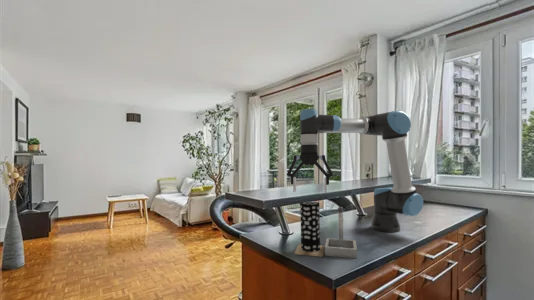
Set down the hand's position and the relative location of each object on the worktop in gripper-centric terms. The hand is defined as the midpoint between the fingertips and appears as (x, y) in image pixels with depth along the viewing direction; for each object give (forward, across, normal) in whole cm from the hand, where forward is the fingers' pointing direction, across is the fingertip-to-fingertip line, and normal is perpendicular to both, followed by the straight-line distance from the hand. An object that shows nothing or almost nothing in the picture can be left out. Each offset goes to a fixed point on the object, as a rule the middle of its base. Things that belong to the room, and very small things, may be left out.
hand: (309, 192), depth 122 cm
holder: (+26, -13, -4) cm, 29 cm away
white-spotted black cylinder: (+25, 0, 0) cm, 25 cm away
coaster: (+26, 0, 0) cm, 26 cm away
